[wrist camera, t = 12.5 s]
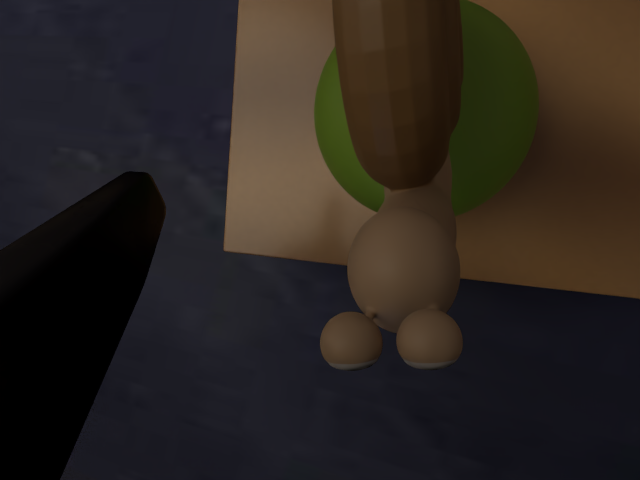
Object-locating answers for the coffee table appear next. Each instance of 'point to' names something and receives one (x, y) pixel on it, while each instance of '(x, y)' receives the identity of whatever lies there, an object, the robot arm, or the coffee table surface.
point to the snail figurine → (417, 160)
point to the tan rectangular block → (496, 213)
